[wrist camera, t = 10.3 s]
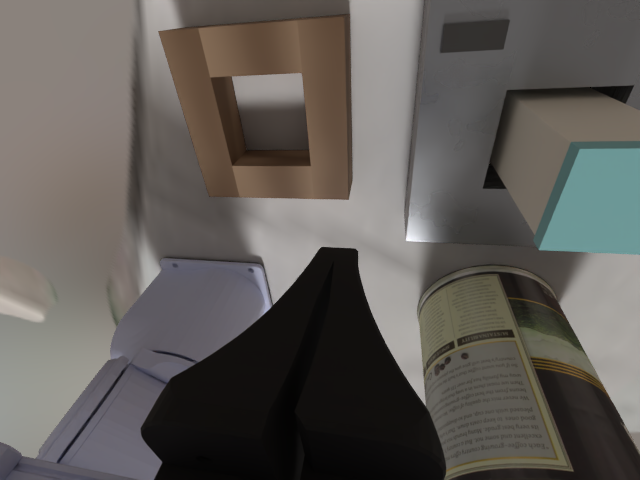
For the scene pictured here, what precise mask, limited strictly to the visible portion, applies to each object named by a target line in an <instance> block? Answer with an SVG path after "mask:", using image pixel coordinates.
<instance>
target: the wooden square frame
mask: <svg viewBox="0 0 640 480" xmlns="http://www.w3.org/2000/svg"><path fill="white" fill-rule="evenodd" d="M158 32H159V35H160V38H161V42H162V45H163V48H164V51H165V55H166V58H167V61H168V64H169V68H170V71H171V74H172V77H173V81H174V84H175V87H176V90H177V94H178V97H179V100H180V103H181V107H182V110H183V113H184V116H185V120H186V123H187V126H188V129H189V133H190V136H191V139H192V142H193V146H194V149H195V152H196V155H197V159H198V162H199V165H200V168H201V172H202V175H203V178H204V181H205V185H206V188H207V191H208V194H209V197H252V198H298V199H344V200H349V195H350V190H351V185H352V116H351V48H350V14H345V15H333V16H320V17H308V18H296V19H283V20H271V21H259V22H247V23H234V24H222V25H210V26H198V27H185V28H178V29H172V30H165V31H158ZM287 73H302V77H303V88H304V98H305V109H306V120H307V130H308V141H309V150H247V149H246V145H245V140H244V135H243V130H242V126H241V121H240V116H239V111H238V107H237V102H236V97H235V92H234V88H233V83H232V78H231V76H247V75H267V74H287Z"/></svg>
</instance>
